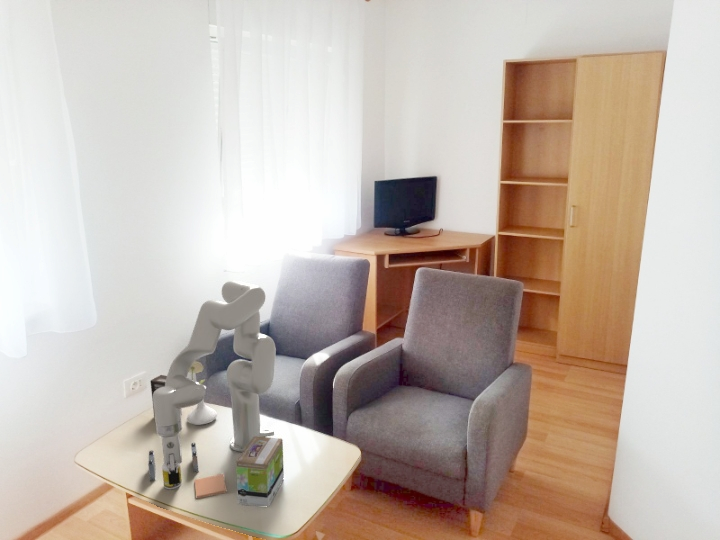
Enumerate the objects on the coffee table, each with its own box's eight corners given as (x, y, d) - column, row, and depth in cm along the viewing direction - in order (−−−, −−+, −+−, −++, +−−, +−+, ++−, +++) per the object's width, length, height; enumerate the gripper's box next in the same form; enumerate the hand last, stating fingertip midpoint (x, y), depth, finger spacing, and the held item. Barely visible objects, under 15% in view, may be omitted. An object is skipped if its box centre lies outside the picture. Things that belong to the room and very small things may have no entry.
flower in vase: (223, 416, 218) (218, 357, 212) (205, 429, 207) (200, 368, 202) (196, 410, 222) (190, 353, 216) (177, 424, 212) (171, 364, 206)
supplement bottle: (174, 491, 170) (171, 463, 168) (160, 487, 172) (157, 460, 170) (185, 481, 175) (182, 454, 173) (171, 478, 177) (168, 451, 175)
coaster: (223, 476, 178) (223, 473, 178) (226, 492, 170) (226, 489, 170) (194, 482, 175) (194, 479, 175) (196, 498, 167) (196, 496, 167)
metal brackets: (197, 458, 188) (195, 441, 186) (198, 471, 181) (196, 453, 179) (150, 468, 183) (148, 450, 182) (150, 481, 176) (148, 463, 174)
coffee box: (153, 418, 217) (149, 380, 213) (164, 410, 223) (160, 374, 219) (172, 421, 214) (168, 383, 210) (182, 414, 220) (179, 377, 216)
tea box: (269, 508, 162) (266, 464, 158) (237, 505, 164) (234, 461, 160) (285, 478, 176) (282, 437, 173) (255, 475, 178) (252, 434, 175)
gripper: (182, 437, 163) (187, 490, 167) (180, 411, 179) (185, 461, 183) (155, 442, 160) (161, 496, 164) (156, 415, 176) (161, 465, 180)
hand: (174, 477), depth 173 cm, fingers closed on supplement bottle, 5 cm apart
